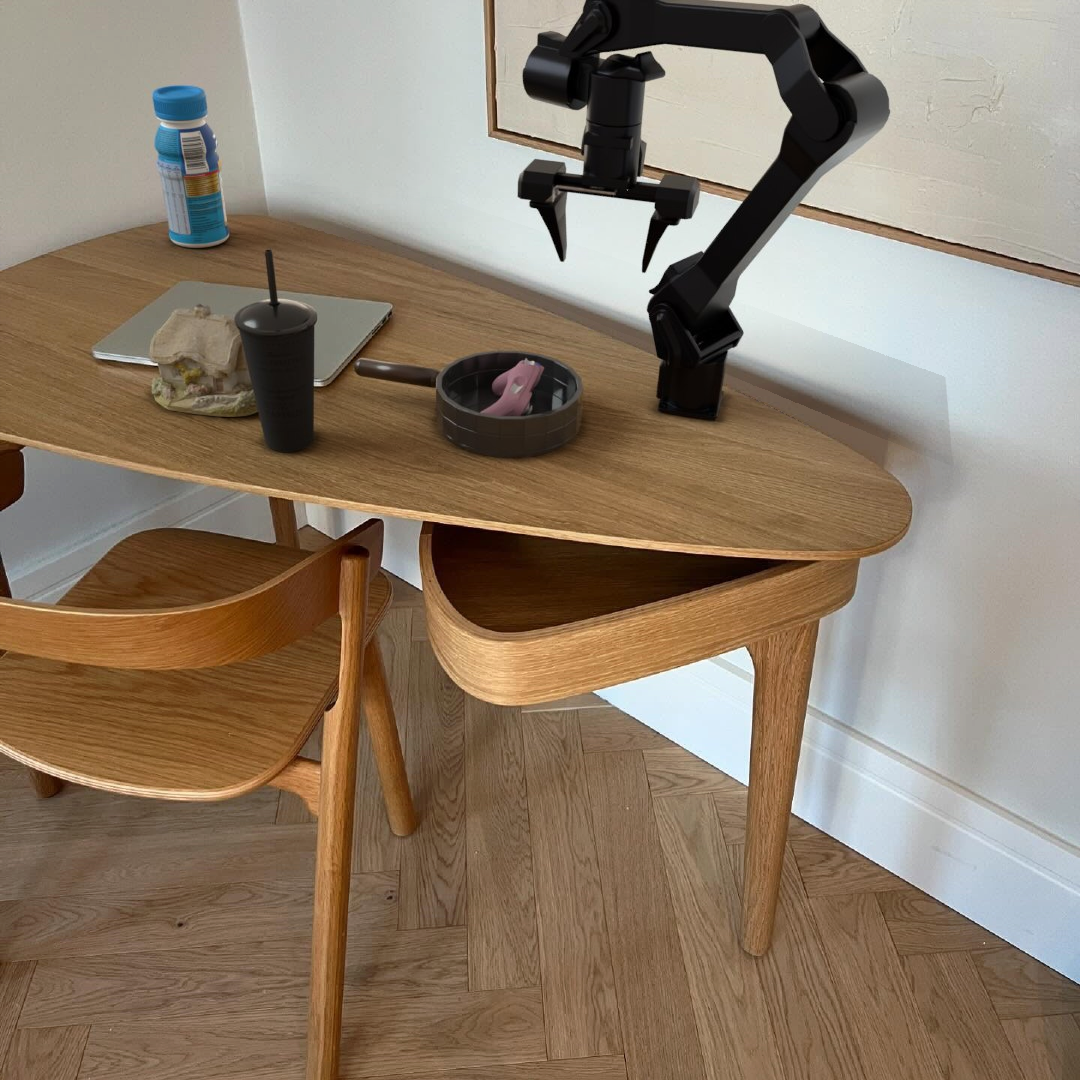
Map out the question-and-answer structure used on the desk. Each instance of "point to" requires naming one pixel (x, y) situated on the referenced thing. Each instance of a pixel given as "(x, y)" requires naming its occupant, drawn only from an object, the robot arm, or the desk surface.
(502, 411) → the video game controller
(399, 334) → the desk surface
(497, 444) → the pan
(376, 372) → the pan handle
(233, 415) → the ceramic model
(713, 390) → the robot arm
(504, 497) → the desk surface
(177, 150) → the beverage bottle
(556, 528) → the desk surface
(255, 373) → the drinking cup
